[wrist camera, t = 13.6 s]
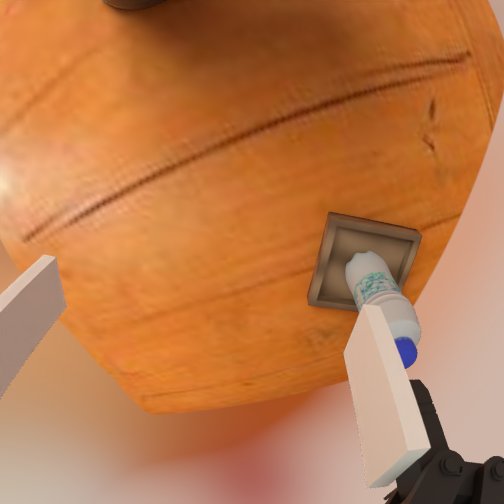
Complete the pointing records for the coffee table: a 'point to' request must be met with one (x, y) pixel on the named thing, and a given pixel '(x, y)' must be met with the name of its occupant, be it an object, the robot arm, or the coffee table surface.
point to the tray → (358, 241)
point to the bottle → (384, 301)
